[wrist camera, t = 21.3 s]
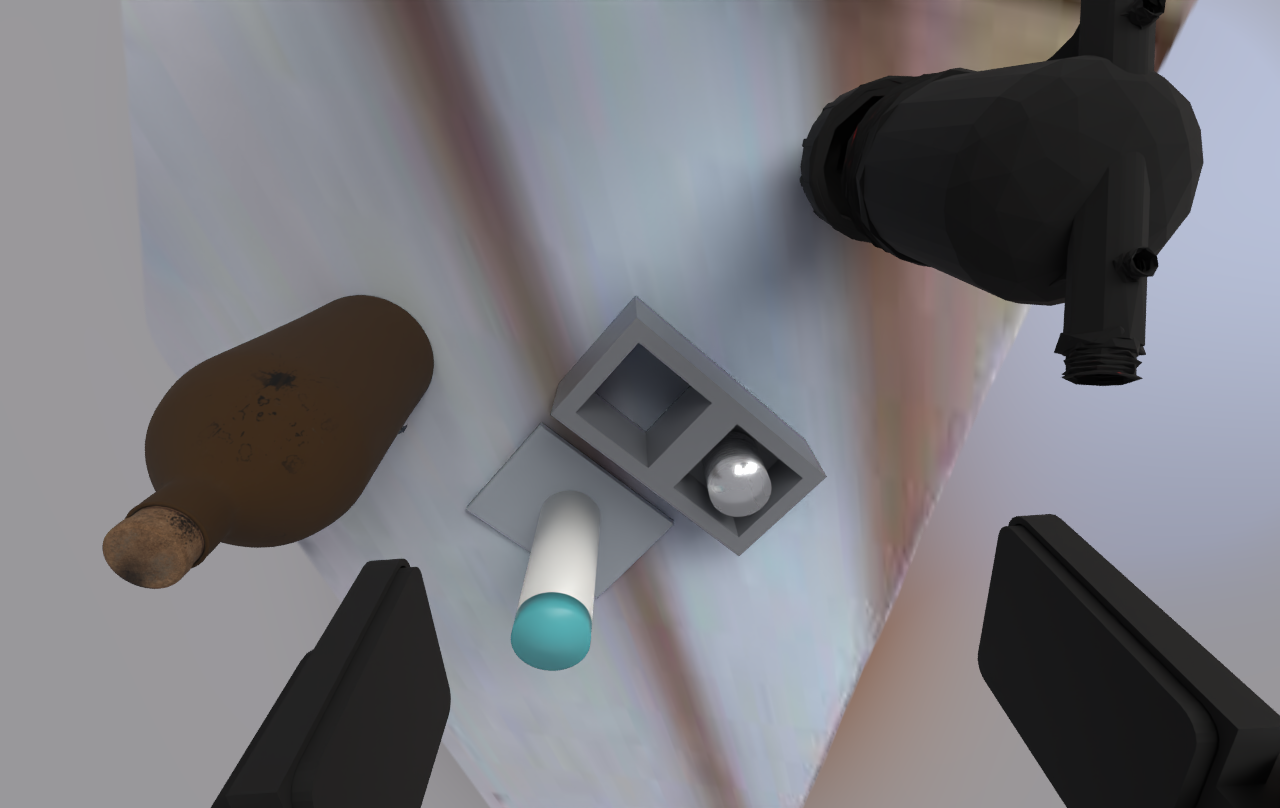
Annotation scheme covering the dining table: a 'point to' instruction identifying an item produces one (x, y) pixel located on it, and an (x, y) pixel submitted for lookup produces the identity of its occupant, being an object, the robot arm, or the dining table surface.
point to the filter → (1025, 178)
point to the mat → (561, 468)
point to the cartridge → (559, 584)
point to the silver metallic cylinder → (736, 476)
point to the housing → (684, 428)
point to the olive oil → (272, 437)
